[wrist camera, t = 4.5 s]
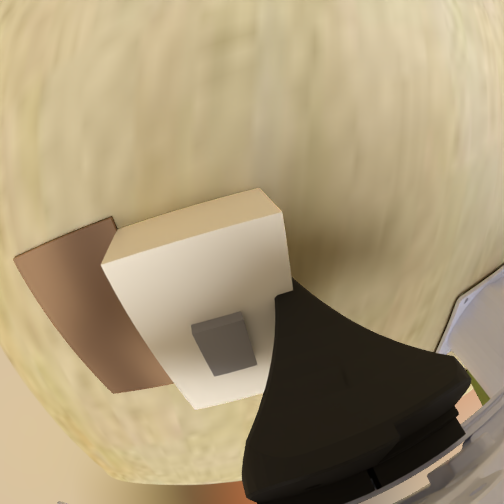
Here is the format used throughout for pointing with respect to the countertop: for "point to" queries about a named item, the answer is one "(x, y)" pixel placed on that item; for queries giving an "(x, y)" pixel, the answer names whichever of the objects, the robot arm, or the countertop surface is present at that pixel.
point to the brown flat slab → (90, 308)
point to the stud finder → (206, 292)
